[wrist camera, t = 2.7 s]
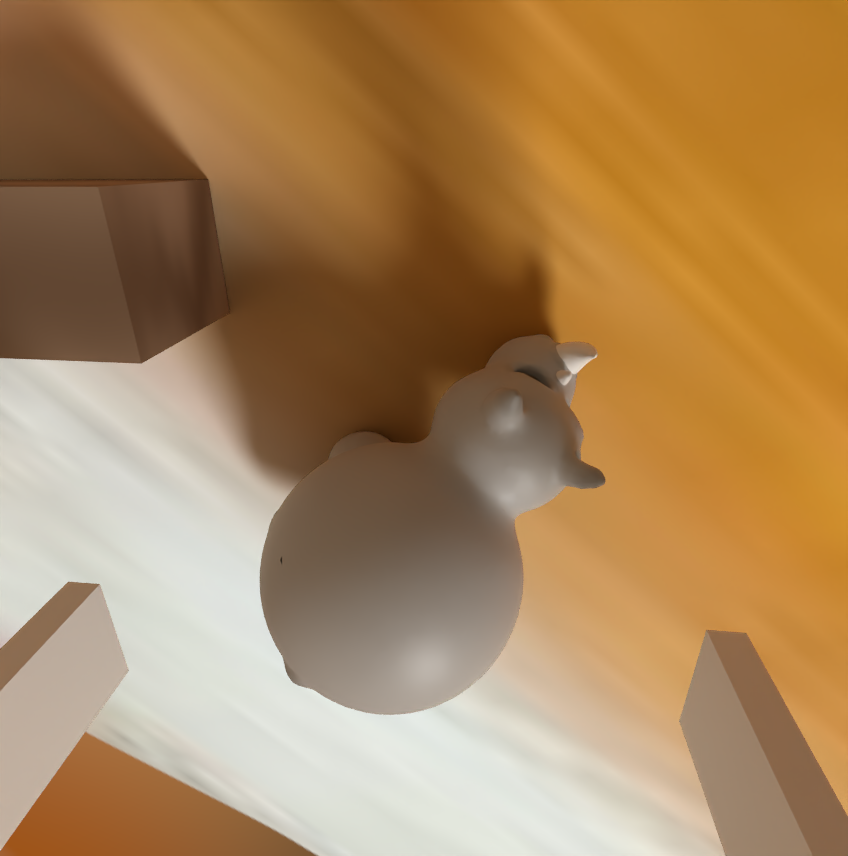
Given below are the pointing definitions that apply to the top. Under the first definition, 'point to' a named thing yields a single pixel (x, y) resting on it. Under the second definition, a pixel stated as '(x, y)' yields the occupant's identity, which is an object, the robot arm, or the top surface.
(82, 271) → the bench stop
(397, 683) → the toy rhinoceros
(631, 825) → the top surface
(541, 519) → the top surface
